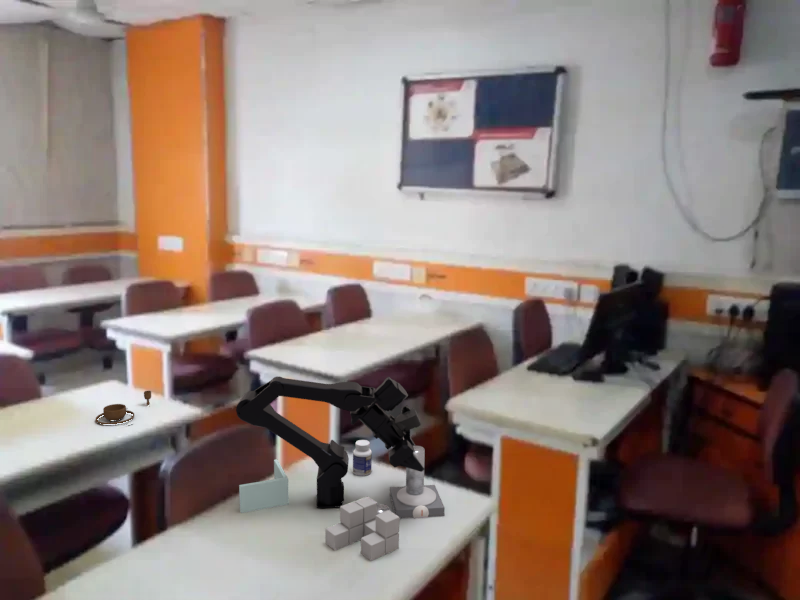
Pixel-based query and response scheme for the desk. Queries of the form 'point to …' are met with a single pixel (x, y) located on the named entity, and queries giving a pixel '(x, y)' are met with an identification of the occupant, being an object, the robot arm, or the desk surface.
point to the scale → (417, 503)
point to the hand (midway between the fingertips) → (421, 463)
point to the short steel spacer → (381, 508)
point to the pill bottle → (362, 458)
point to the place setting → (119, 411)
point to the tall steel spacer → (416, 474)
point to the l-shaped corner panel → (265, 492)
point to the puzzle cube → (365, 529)
